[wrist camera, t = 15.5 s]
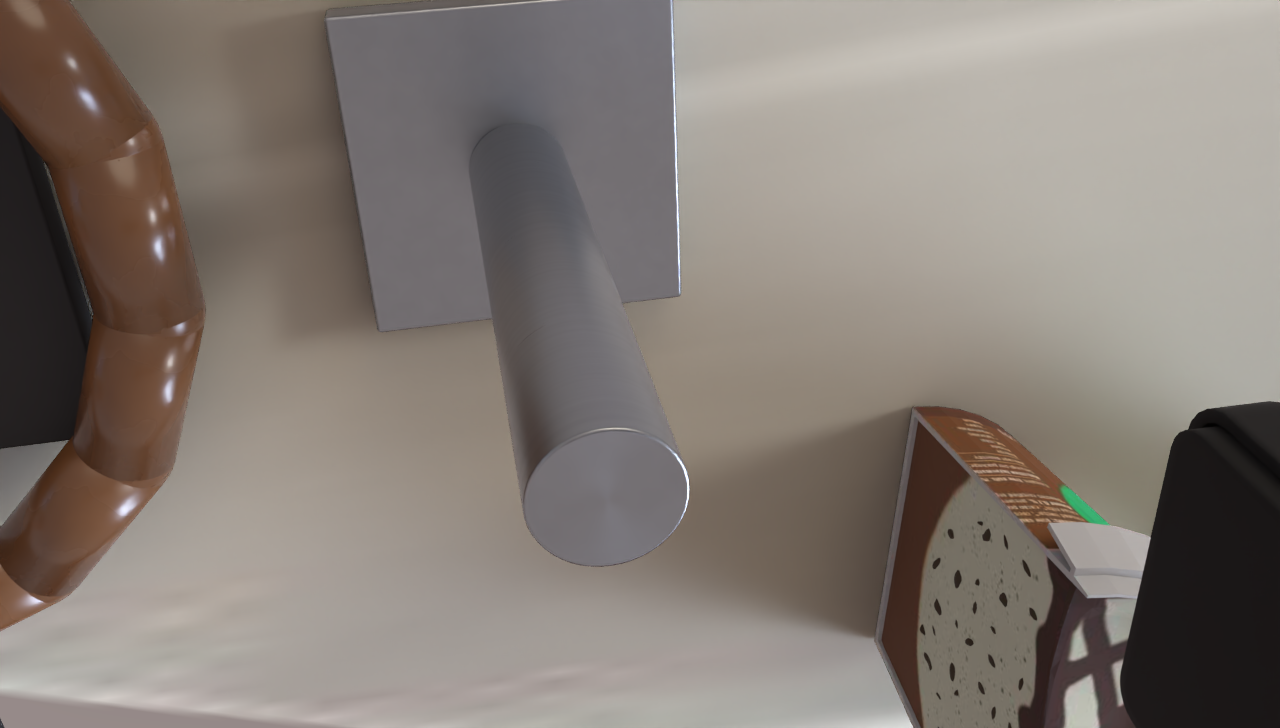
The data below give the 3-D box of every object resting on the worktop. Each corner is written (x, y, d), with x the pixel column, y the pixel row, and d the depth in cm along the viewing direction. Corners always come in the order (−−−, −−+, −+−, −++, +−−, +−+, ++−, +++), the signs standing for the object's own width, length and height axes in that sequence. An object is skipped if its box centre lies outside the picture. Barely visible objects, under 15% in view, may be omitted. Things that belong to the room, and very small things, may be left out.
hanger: (664, -20, 28) (895, 206, 15) (674, 281, 32) (862, 664, 19) (325, 8, 27) (260, 277, 14) (378, 316, 31) (365, 748, 18)
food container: (1031, 654, 42) (1197, 898, 33) (868, 673, 41) (996, 930, 32) (1108, 350, 36) (1334, 552, 27) (919, 364, 35) (1093, 577, 26)
